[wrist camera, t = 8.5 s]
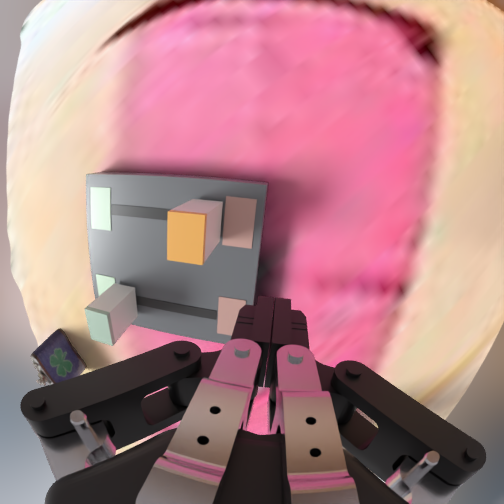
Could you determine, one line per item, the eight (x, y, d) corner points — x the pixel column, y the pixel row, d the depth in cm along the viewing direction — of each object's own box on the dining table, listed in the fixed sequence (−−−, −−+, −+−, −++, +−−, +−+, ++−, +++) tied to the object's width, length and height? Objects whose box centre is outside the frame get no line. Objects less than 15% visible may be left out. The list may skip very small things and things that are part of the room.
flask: (88, 367, 43) (60, 403, 32) (80, 368, 43) (52, 403, 33) (61, 327, 40) (26, 360, 30) (54, 329, 41) (20, 361, 31)
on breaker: (135, 287, 31) (106, 315, 25) (137, 315, 32) (112, 345, 26) (114, 283, 31) (84, 308, 25) (118, 310, 33) (91, 339, 26)
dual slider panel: (268, 182, 29) (266, 185, 26) (250, 333, 35) (247, 347, 33) (100, 172, 30) (85, 174, 28) (108, 305, 37) (97, 315, 34)
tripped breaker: (222, 201, 27) (204, 215, 21) (219, 241, 28) (202, 265, 22) (193, 198, 27) (167, 211, 21) (191, 237, 28) (167, 260, 22)
